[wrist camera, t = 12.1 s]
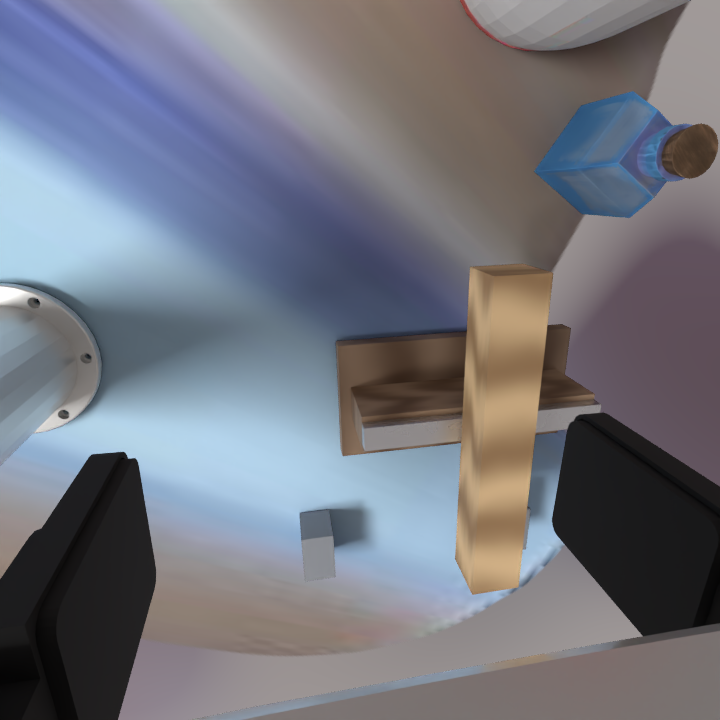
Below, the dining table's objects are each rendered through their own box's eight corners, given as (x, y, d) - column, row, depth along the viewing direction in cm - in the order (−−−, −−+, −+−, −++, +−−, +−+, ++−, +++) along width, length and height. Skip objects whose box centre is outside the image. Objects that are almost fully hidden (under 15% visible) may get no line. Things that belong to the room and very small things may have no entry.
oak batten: (470, 266, 33) (494, 276, 30) (523, 263, 34) (553, 272, 30) (455, 559, 42) (472, 594, 39) (497, 552, 43) (518, 587, 39)
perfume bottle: (628, 152, 41) (757, 138, 30) (581, 213, 42) (690, 222, 31) (581, 105, 39) (701, 72, 28) (533, 171, 41) (631, 164, 29)
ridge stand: (340, 448, 46) (353, 501, 39) (335, 341, 43) (349, 375, 35) (549, 425, 50) (600, 470, 42) (561, 324, 46) (621, 352, 38)
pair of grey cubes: (302, 552, 50) (305, 581, 46) (299, 513, 48) (301, 540, 44) (508, 524, 53) (525, 549, 49) (512, 486, 51) (530, 509, 48)
